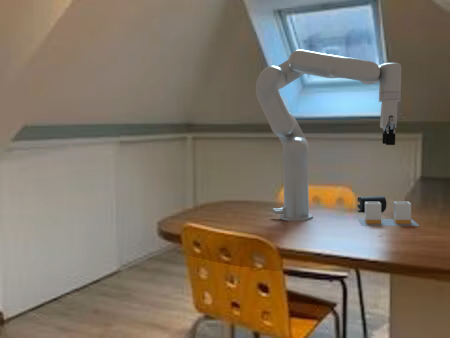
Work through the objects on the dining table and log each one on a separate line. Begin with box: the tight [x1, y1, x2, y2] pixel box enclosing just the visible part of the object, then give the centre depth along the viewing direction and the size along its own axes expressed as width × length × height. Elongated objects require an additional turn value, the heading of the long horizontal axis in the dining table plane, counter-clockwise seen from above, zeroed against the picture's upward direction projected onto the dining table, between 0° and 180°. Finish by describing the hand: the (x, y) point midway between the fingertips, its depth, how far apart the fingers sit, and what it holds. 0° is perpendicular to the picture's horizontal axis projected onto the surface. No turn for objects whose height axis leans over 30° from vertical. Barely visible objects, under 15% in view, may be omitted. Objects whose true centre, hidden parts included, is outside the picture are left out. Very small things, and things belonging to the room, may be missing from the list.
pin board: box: [357, 218, 420, 227], centre depth 179 cm, size 19×12×6 cm, turn 81°
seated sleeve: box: [364, 202, 382, 224], centre depth 180 cm, size 5×5×7 cm
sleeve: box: [393, 200, 412, 224], centre depth 178 cm, size 5×5×7 cm
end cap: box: [356, 195, 387, 213], centre depth 207 cm, size 10×7×7 cm
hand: (388, 144), depth 188 cm, fingers open, 9 cm apart
